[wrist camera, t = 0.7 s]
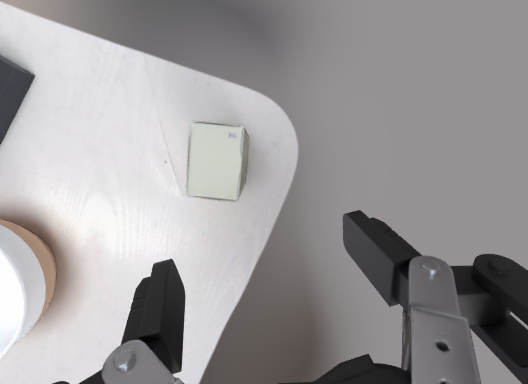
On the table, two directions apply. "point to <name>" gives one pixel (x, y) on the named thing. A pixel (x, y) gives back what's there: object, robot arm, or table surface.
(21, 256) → the bowl
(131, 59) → the table surface
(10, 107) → the scale
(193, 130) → the cosmetic box
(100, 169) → the table surface
